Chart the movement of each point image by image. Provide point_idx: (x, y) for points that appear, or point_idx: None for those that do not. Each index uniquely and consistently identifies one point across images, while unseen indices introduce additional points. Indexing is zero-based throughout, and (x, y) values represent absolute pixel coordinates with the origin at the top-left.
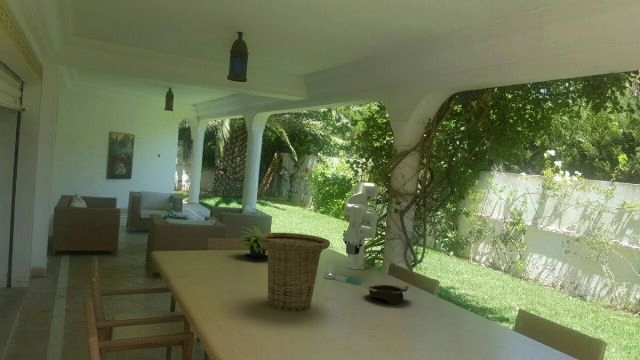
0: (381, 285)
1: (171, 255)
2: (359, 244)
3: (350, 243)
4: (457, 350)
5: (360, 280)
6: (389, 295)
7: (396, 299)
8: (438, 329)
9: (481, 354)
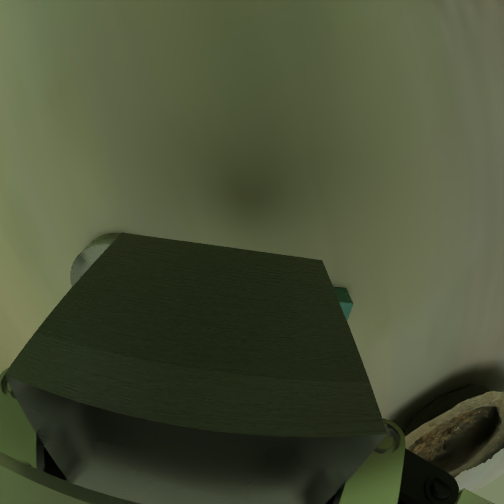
0: (452, 417)
1: None
2: (379, 494)
3: (98, 477)
4: (479, 486)
5: (348, 316)
6: (450, 462)
7: (467, 441)
8: (489, 462)
9: (499, 475)
